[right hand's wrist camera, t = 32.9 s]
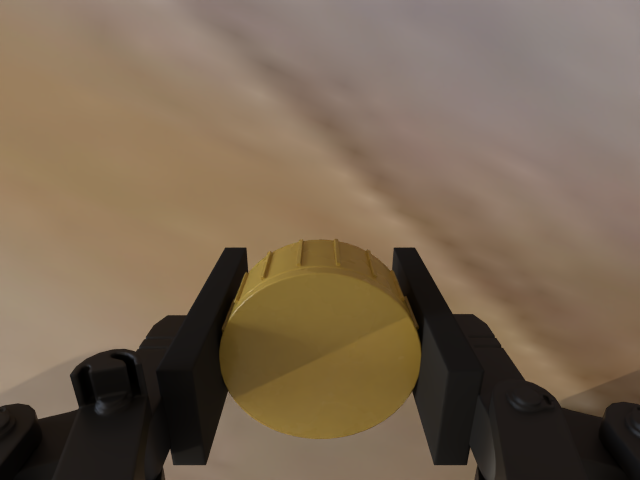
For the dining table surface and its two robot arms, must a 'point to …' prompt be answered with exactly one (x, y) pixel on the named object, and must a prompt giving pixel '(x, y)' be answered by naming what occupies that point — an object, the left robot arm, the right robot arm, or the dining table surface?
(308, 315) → the lid
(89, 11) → the dining table surface
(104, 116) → the dining table surface
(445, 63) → the dining table surface
